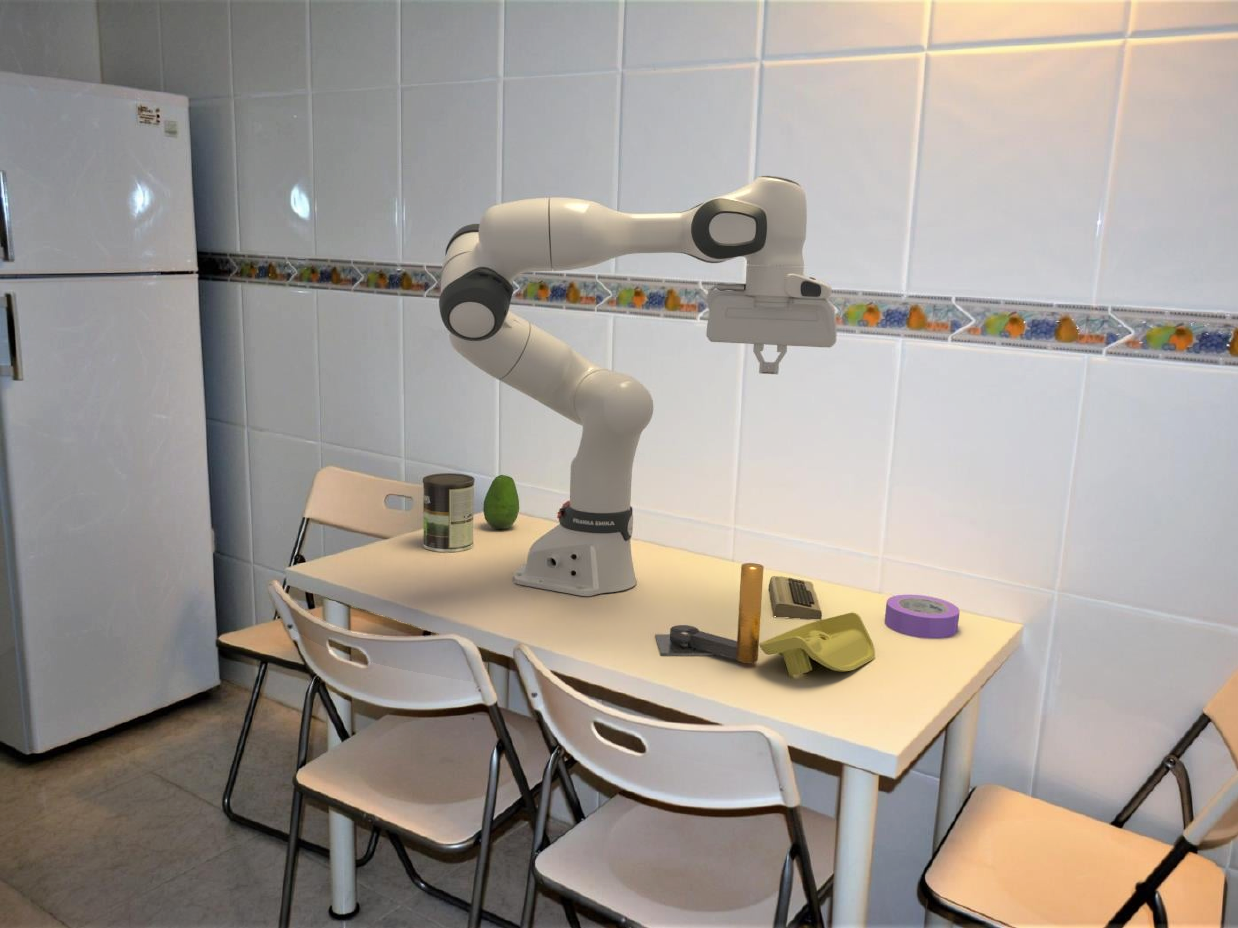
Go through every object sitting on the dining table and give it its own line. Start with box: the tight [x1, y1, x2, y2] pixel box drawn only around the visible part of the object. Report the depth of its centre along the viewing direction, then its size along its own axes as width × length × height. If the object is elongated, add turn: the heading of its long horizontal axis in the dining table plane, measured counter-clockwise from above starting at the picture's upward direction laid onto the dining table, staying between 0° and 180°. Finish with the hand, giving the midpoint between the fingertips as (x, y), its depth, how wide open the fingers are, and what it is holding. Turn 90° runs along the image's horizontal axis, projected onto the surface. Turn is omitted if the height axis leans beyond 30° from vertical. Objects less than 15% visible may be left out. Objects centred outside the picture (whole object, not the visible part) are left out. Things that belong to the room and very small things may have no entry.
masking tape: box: [884, 594, 961, 640], centre depth 169 cm, size 12×12×4 cm
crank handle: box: [669, 562, 765, 664], centre depth 152 cm, size 15×4×14 cm, turn 54°
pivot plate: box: [654, 633, 715, 657], centre depth 157 cm, size 8×8×1 cm
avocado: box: [482, 474, 520, 530], centre depth 222 cm, size 8×8×12 cm
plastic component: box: [759, 611, 876, 677], centre depth 151 cm, size 20×7×10 cm
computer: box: [768, 575, 823, 620], centre depth 179 cm, size 16×8×3 cm, turn 175°
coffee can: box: [422, 472, 476, 553], centre depth 207 cm, size 10×10×14 cm
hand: (768, 373), depth 161 cm, fingers closed
